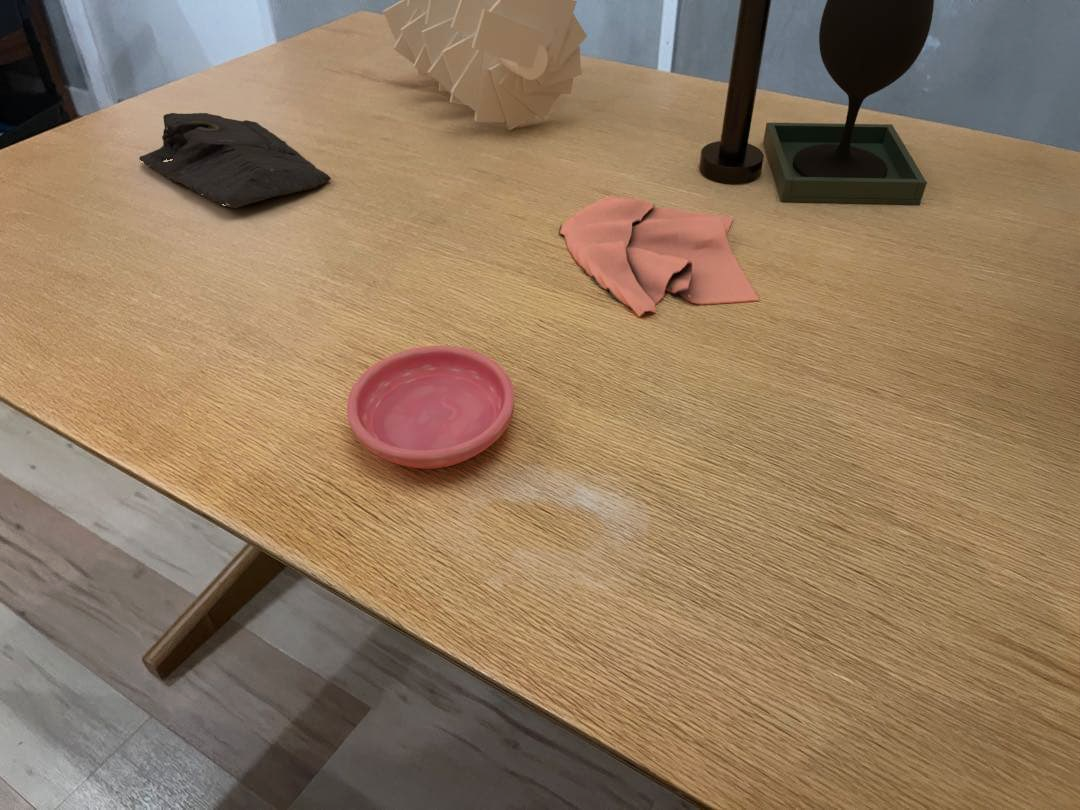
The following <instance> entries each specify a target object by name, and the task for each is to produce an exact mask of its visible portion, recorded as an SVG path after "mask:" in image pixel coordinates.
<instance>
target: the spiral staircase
mask: <svg viewBox="0 0 1080 810" xmlns="http://www.w3.org/2000/svg"><path fill="white" fill-rule="evenodd" d="M576 5H577V0H400V1H397V2H396V3H394V4H392V5H390V6H389V7H387V8H386V9H384V10H382V13H383V15H384V18H385V20H386V23H387V24H388V27H389V29H390V31H391V35H392V36H393V39H394V41H395V43H394V45H393V47H392V49H393V50H394V51H396V52H397V53H398V54H399V55H401V56H402V57H404V58H405V59H406V60H408V61H409V62H410V63H412V64H413V65H412V67H414V68H415V69H416V75H417V76H429V77H430V78H432V79H433V80H435V81H437V82H438V91H439V92H448V93H450V96H449V97H450V98H449V103H450V104H457V105H464V106H467V107H468V108H469V109H471V110H472V111H474V112H475V113H474V122H476V123H504V124H506V128H507V130H508V131H512V130H513V129H516V128H517V127H518V126H521V125H522V124H524V123H526V122H527V121H529V120H530V119H533V118H534V117H536V116H537V117H538V119H540V120H541V121H544V120H545V118H546V117H547V115H548V114H549V113H550V111H551V110H552V108H553V107H554V106H555V103H556V102H557V100H558V99H559V98H560V96H561V95H571V93H572V90H573V89H572V88H573V84H574V79H575V78H577V77H580V76H582V64H581V62H582V61H581V50H580V48H581V47H580V45H581V44H582V43H583V42H584V41H585V40H586V39H587V38H588V35H587V33H586V32H585V30H584V29H583V27H582V25H581V23H580V22H579V20H578V19H577V17H576V15H575V14H574V11H575V8H576Z"/></svg>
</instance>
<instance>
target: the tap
mask: <svg viewBox="0 0 1080 810" xmlns="http://www.w3.org/2000/svg"><path fill="white" fill-rule="evenodd" d="M771 4H772V0H740V1H739V9H738V16H737V22H736V29H735V34H734V35H735V36H734V41H733V42H734V43H733V51H732V58H731V64H730V72H729V79H728V85H727V92H726V98H725V100H726V101H725V107H724V113H723V120H722V121H723V122H722V127H721V134H720V135H721V136H720V140H718V141H712V142H710V143H708V144H705V146H703V147H702V148H701V151H700V156H699V157H700V158H699V165H698V170H699V172H700V174H701V175H702V176H703V177H704V178H706V179H707V180H710V181H712V182H715V183H719V184H724V185H743V184H749V183H753V182H754V181H756V180H758V179H759V178H760V177H761V174H762V170H763V165H764V160H765V159H764V158H765V155H764V152H763V150H761V149H760V148H759V147H757V146H756V145H753V144H752V143H749V138H750V132H751V128H752V127H751V125H752V121H753V113H754V108H755V102H756V96H757V90H758V85H759V82H758V81H759V78H760V73H761V72H760V71H761V67H762V66H761V65H762V60H763V59H762V58H763V54H764V47H765V42H766V34H767V29H768V24H769V23H768V22H769V17H770V10H771V6H772V5H771Z"/></svg>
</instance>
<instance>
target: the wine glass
mask: <svg viewBox="0 0 1080 810" xmlns="http://www.w3.org/2000/svg"><path fill="white" fill-rule="evenodd" d="M934 5H935V0H826V3H825V5H824V8H823V11H822V15H821V19H820V25H819V31H818V32H819V33H818V43H819V53H820V54H819V55H820V57H821V61H822V63H823V66H824V68H825V70H826V71H827V73H828V75H829V76H830V78H831V79H832V81H834V83H835V84H836V85H837V86H838V87H839V88H840V89H841V90H842V91H843V92H844V93H845V94H846V95H847V97H848V107H847V113H846V119H845V123H844V124H845V127H844V131H843V135H842V138H841V141H840V144H839V145H838V144H822V145H814V146H810V147H807V148H804V149H802V150H800V151H799V152H798V153H797V154H796V155H795V156H794V159H793V166H794V168H795V169H796V171H797V172H798V173H799V174H800V175H802V176H803V177H832V178H885V177H886V175H887V171H888V169H887V165H886V164H885V162H884V161H883V160H882V159H881V158H880V157H878V156H877V155H875V154H873V153H871V152H869V151H866V150H863V149H860V148H857V147H852V146H850V143H851V137H852V133H853V129H854V125H855V124H856V121H857V118H858V115H859V111H860V109H861V106H862V104H863V102H864V101H865V100H866V98H867V97H870V96H871V95H875V94H876V93H878V92H880V91H881V90H883V89H885V88H887V87H889V86H890V85H892V84H893V83H895V82H896V81H897V80H899V79H900V78H901V77H902V76H904V74H906V73H907V72H908V70H909V69H910V68H912V66H913V65H914V63H916V60H917V59H918V58H919V57H920V54H921V53H922V51H923V49H924V47H925V44H926V42H927V39H928V36H929V33H930V29H931V25H932V21H933V14H934Z"/></svg>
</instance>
